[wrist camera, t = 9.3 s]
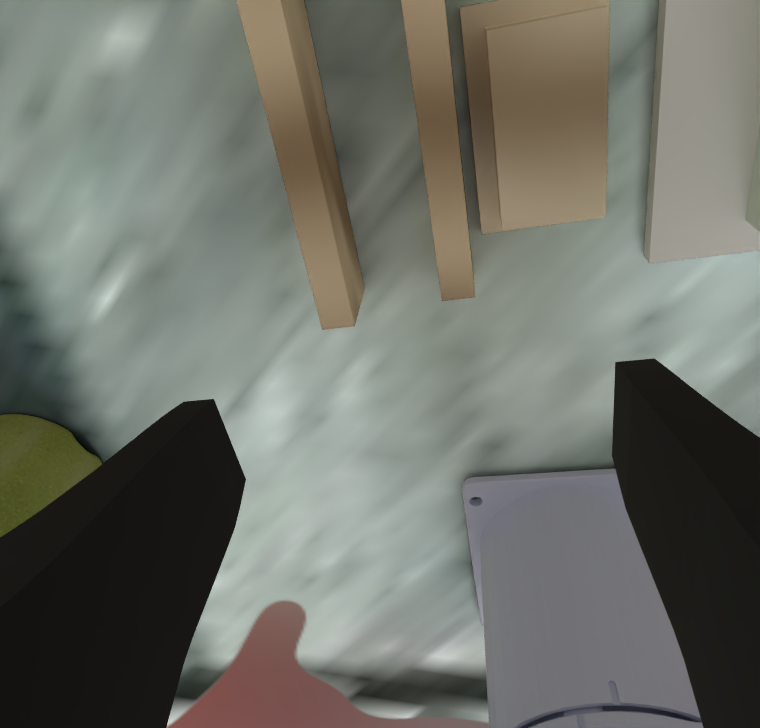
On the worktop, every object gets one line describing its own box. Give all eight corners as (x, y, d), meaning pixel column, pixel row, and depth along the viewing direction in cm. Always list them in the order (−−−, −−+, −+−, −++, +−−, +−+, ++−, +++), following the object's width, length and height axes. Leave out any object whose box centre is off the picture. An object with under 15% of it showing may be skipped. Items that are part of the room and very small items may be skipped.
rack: (473, 276, 19) (476, 312, 17) (335, 292, 20) (322, 329, 18) (438, -61, 15) (436, -67, 12) (260, -21, 15) (231, -21, 13)
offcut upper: (597, 203, 17) (606, 215, 16) (499, 217, 18) (502, 229, 17) (599, 4, 15) (609, 6, 14) (484, 27, 15) (486, 30, 14)
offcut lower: (597, 205, 18) (605, 217, 17) (480, 222, 19) (482, 234, 18) (600, -24, 15) (610, -23, 14) (459, 6, 16) (460, 8, 15)
